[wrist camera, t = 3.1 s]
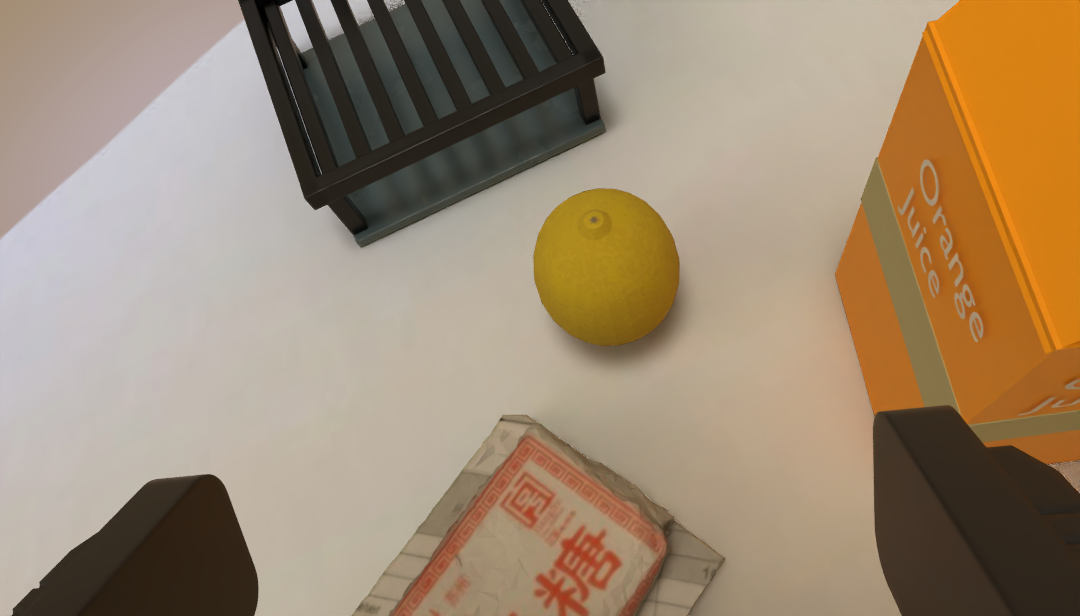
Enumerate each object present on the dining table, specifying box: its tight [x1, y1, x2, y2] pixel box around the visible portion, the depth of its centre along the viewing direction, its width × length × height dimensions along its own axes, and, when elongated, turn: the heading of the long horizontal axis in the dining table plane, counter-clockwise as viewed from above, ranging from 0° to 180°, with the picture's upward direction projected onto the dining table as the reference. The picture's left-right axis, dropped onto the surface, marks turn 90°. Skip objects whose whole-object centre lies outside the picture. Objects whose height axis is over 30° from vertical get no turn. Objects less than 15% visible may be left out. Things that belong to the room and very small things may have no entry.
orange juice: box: [835, 0, 1080, 464], centre depth 21 cm, size 8×9×20 cm
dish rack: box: [238, 0, 606, 247], centre depth 36 cm, size 14×13×8 cm
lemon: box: [534, 189, 679, 346], centre depth 30 cm, size 6×6×8 cm
